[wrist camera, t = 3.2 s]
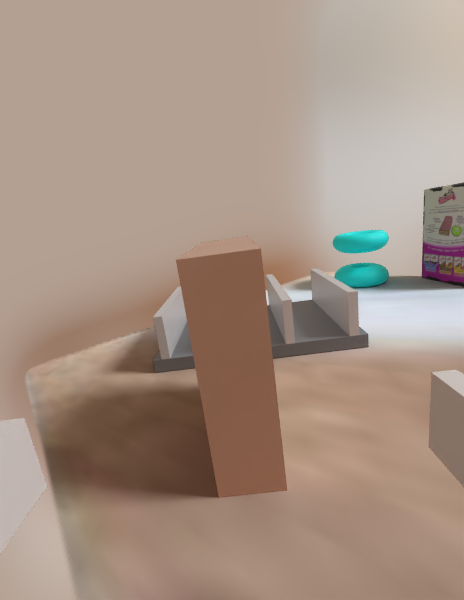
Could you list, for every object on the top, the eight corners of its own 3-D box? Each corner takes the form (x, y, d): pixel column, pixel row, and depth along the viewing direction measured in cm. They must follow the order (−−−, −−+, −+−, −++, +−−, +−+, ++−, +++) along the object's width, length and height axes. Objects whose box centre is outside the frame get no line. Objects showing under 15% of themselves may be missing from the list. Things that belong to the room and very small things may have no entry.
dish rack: (325, 307, 49) (323, 267, 47) (368, 346, 34) (367, 289, 32) (179, 325, 50) (172, 287, 48) (155, 372, 34) (143, 318, 33)
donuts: (322, 237, 59) (347, 231, 66) (325, 287, 62) (349, 276, 68) (374, 234, 52) (396, 227, 58) (375, 290, 55) (396, 278, 61)
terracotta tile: (265, 383, 29) (247, 236, 26) (287, 490, 18) (260, 248, 14) (224, 388, 29) (201, 242, 26) (218, 497, 18) (175, 259, 14)
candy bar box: (499, 283, 49) (509, 175, 45) (471, 288, 48) (478, 179, 44) (443, 273, 60) (447, 185, 56) (420, 277, 59) (422, 188, 55)
